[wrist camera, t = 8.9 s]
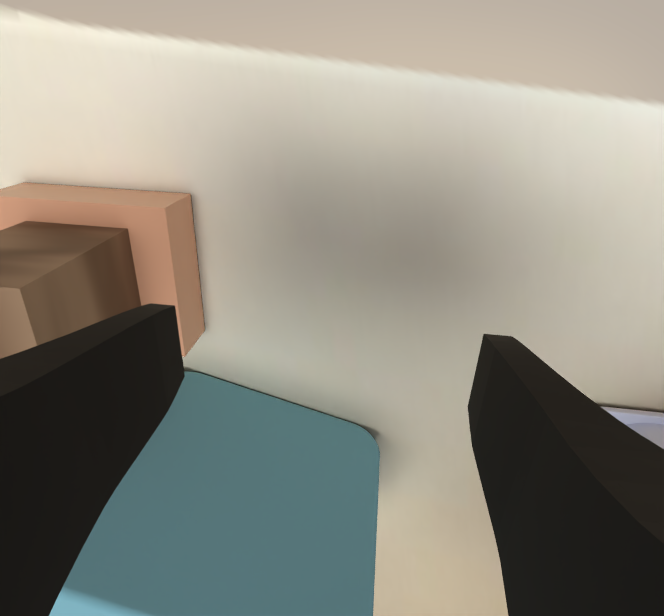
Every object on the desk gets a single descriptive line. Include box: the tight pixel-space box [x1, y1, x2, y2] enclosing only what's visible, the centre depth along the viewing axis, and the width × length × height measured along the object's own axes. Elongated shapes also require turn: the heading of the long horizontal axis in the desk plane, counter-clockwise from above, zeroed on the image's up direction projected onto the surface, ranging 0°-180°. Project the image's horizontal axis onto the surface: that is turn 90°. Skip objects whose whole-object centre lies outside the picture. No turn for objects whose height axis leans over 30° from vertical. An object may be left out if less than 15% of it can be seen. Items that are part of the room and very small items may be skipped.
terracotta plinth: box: [0, 183, 205, 357], centre depth 21 cm, size 8×7×2 cm
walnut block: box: [0, 221, 141, 359], centre depth 17 cm, size 4×4×6 cm
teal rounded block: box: [49, 372, 380, 616], centre depth 20 cm, size 12×4×12 cm, turn 72°
